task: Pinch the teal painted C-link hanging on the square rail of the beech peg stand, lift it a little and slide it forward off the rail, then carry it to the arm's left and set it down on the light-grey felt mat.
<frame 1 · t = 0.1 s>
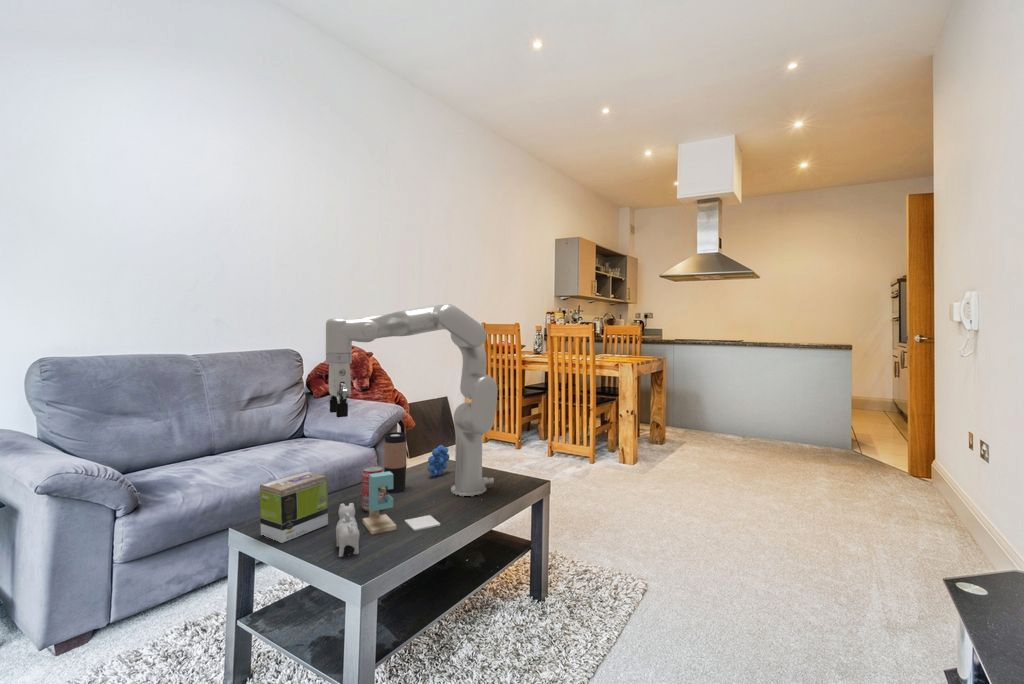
hand: (338, 414, 149), 31 cm above the table, fingers open, 9 cm apart
tea box: (294, 531, 138), on the table
stand: (379, 526, 141), on the table
felt mat: (422, 523, 144), on the table
soda can: (373, 509, 155), on the table
grapes: (436, 475, 193), on the table
travel mug: (394, 490, 174), on the table
dog figurine: (346, 548, 127), on the table
c link: (381, 507, 140), point 6 cm above the table, touching stand
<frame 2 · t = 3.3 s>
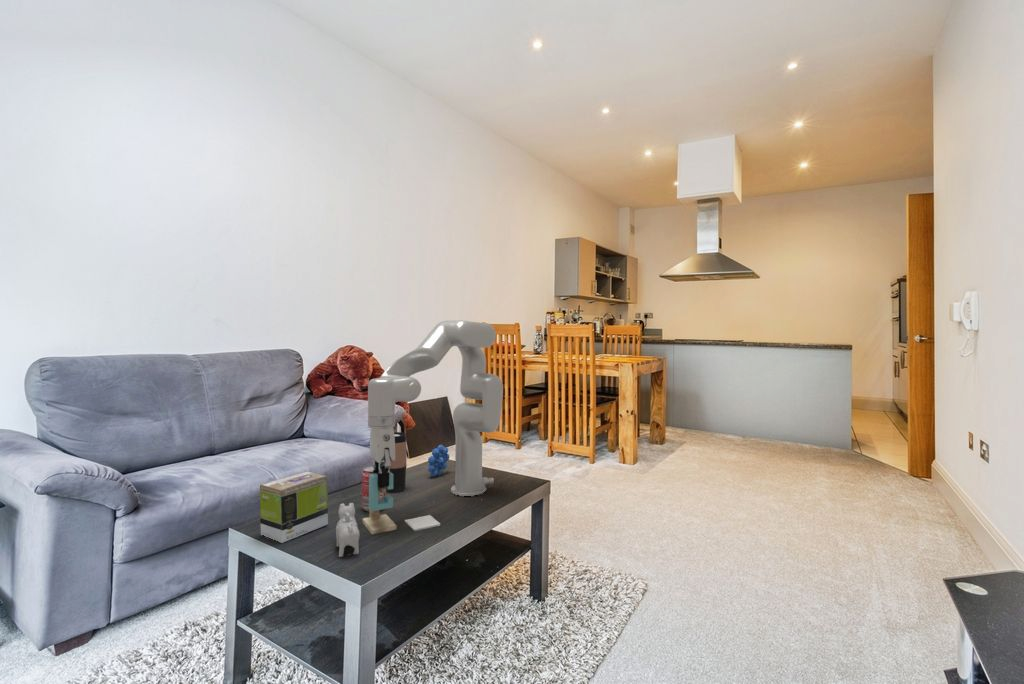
hand: (381, 484, 140), 13 cm above the table, fingers closed on c link, 3 cm apart
c link: (381, 507, 140), point 6 cm above the table, touching gripper, stand
everything else where it was.
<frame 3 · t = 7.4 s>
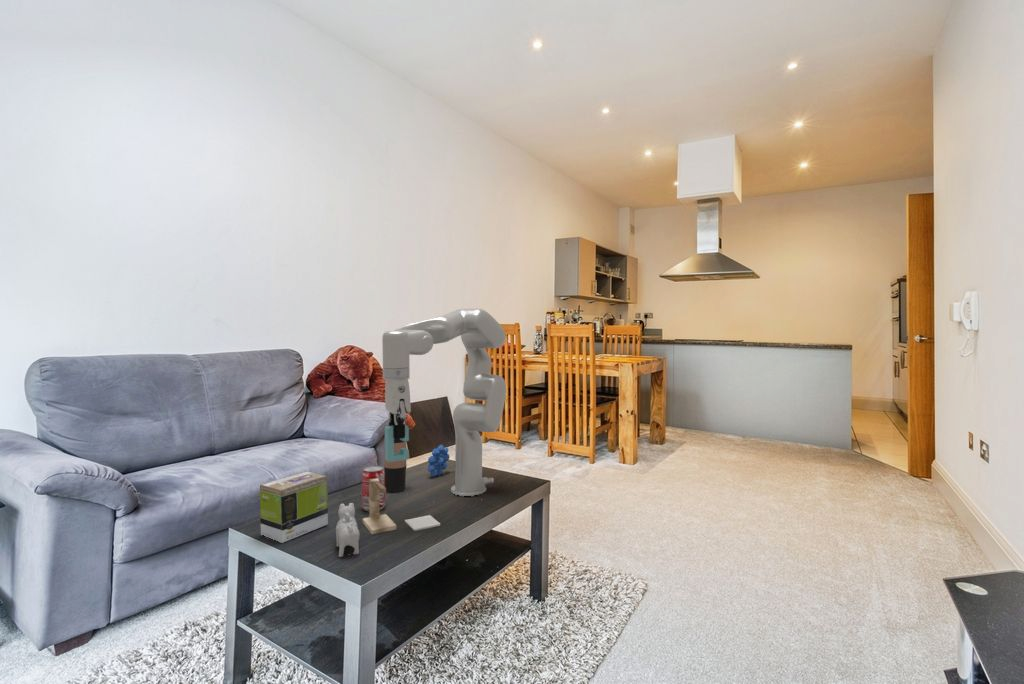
hand: (397, 436, 140), 26 cm above the table, fingers closed on c link, 3 cm apart
c link: (397, 459, 141), point 20 cm above the table, touching gripper
everything else where it was.
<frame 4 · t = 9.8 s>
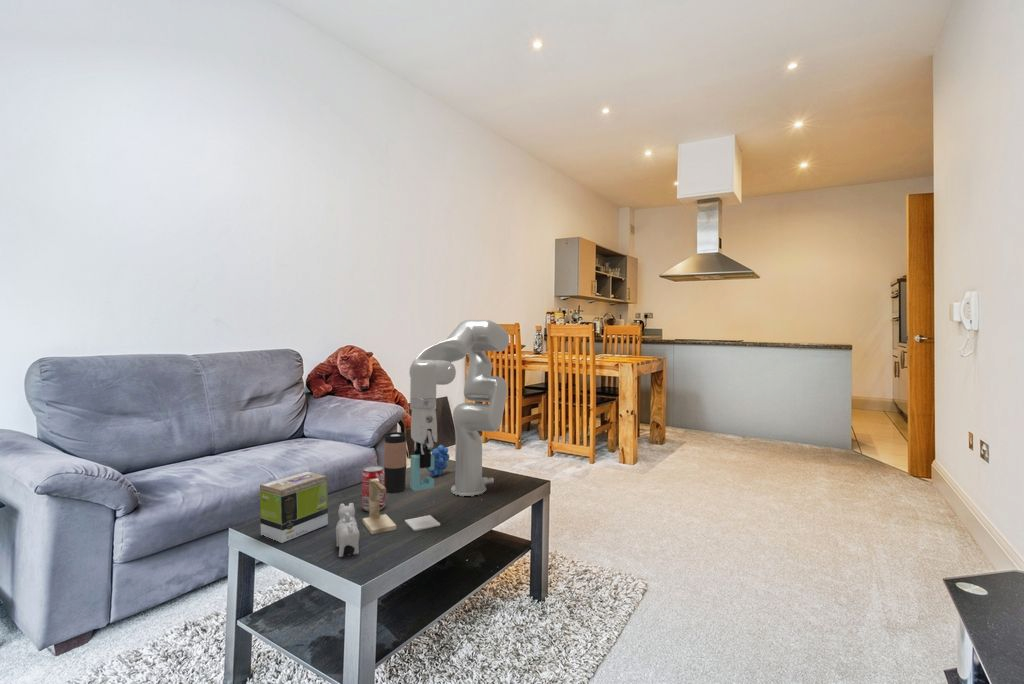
hand: (422, 465, 143), 17 cm above the table, fingers closed on c link, 3 cm apart
c link: (422, 487, 143), point 11 cm above the table, touching gripper
everything else where it was.
when the fingers open (8 cm above the table, at t = 11.8 s): c link stays where it is, resting on felt mat.
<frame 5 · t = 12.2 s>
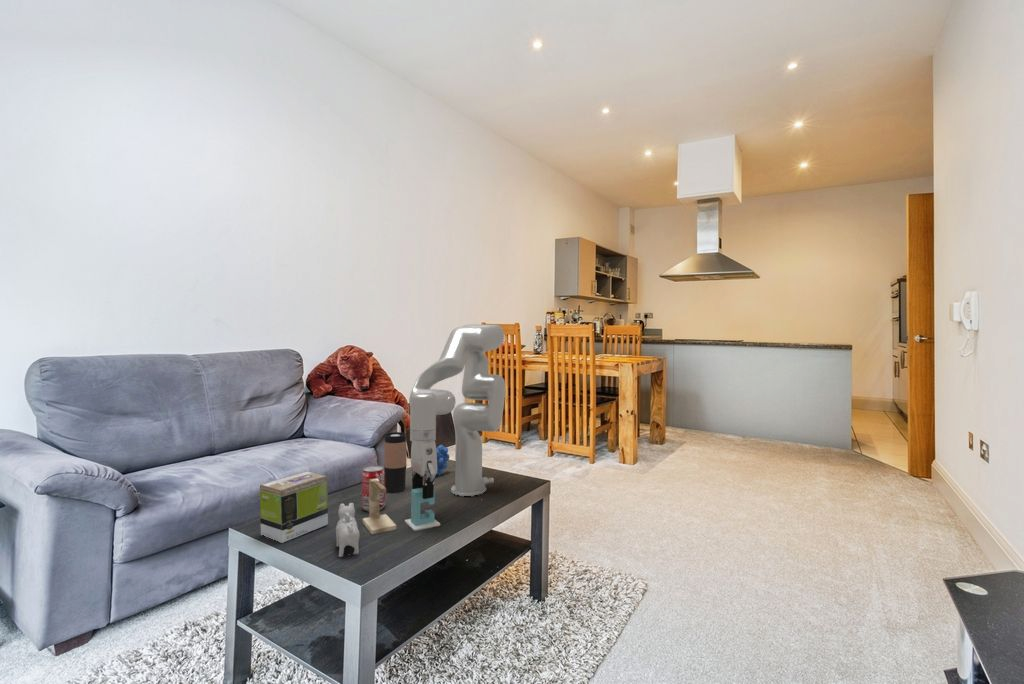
hand: (422, 493, 143), 9 cm above the table, fingers open, 7 cm apart
c link: (422, 521, 144), resting on felt mat
everything else where it was.
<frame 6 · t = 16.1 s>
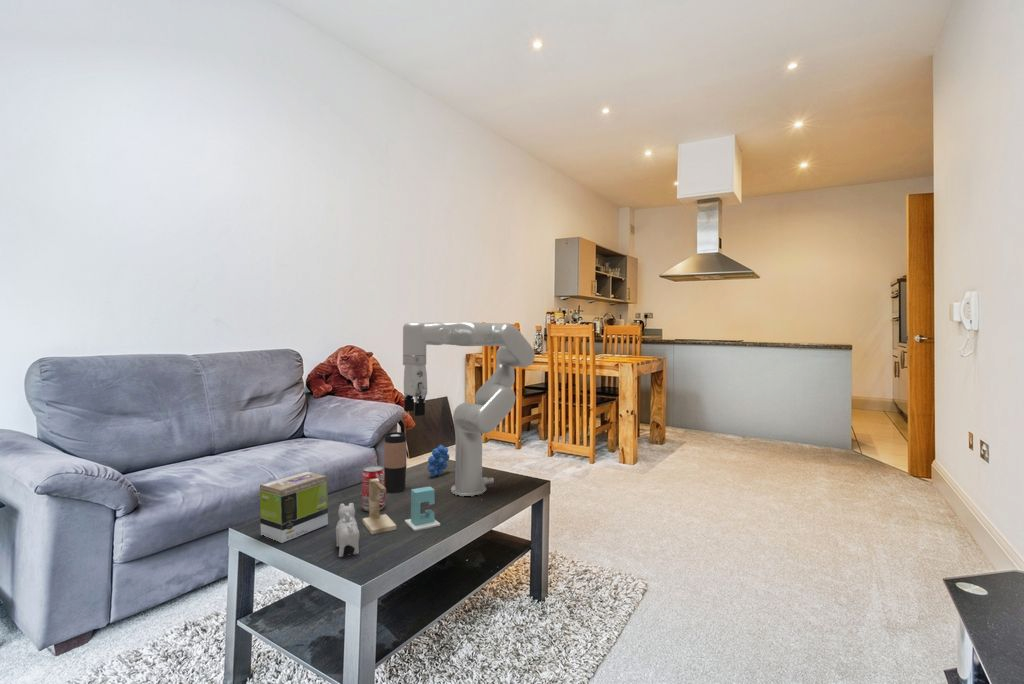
hand: (414, 413, 158), 30 cm above the table, fingers open, 9 cm apart
nothing on the table moved.
at the end: c link inside the target area (0.1 cm from its centre), point 0.5 cm above the table; the gripper is holding nothing; c link touching felt mat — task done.
